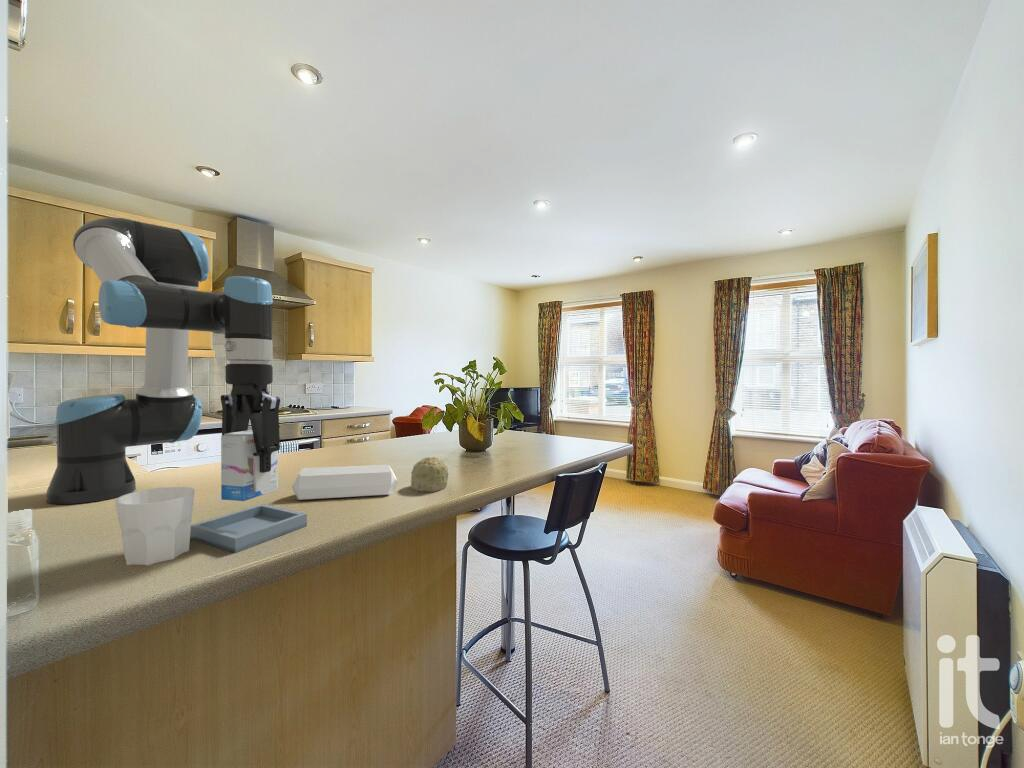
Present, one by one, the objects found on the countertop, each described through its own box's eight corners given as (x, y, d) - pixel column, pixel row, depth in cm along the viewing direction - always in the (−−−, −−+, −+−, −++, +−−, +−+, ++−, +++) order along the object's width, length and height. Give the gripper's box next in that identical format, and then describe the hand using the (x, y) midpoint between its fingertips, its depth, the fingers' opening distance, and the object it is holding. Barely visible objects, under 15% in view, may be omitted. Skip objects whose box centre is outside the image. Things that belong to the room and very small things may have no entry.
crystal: (287, 488, 98) (397, 482, 105) (292, 466, 104) (397, 462, 111) (290, 511, 102) (397, 504, 109) (296, 488, 108) (397, 483, 114)
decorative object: (432, 507, 110) (455, 473, 110) (399, 484, 109) (422, 451, 110) (437, 499, 119) (458, 468, 120) (406, 478, 119) (427, 447, 119)
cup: (98, 568, 67) (97, 504, 67) (151, 541, 77) (150, 486, 77) (164, 569, 67) (163, 505, 67) (208, 542, 77) (208, 487, 77)
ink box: (244, 502, 77) (242, 435, 77) (220, 500, 78) (218, 434, 78) (279, 489, 86) (278, 428, 85) (257, 488, 87) (256, 428, 86)
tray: (189, 538, 79) (189, 525, 79) (262, 515, 91) (262, 504, 91) (235, 552, 73) (235, 538, 73) (306, 525, 86) (306, 513, 86)
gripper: (197, 362, 82) (198, 485, 82) (263, 362, 74) (265, 499, 75) (237, 362, 88) (238, 477, 89) (302, 363, 80) (303, 488, 81)
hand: (250, 487), depth 82 cm, fingers closed on ink box, 6 cm apart
